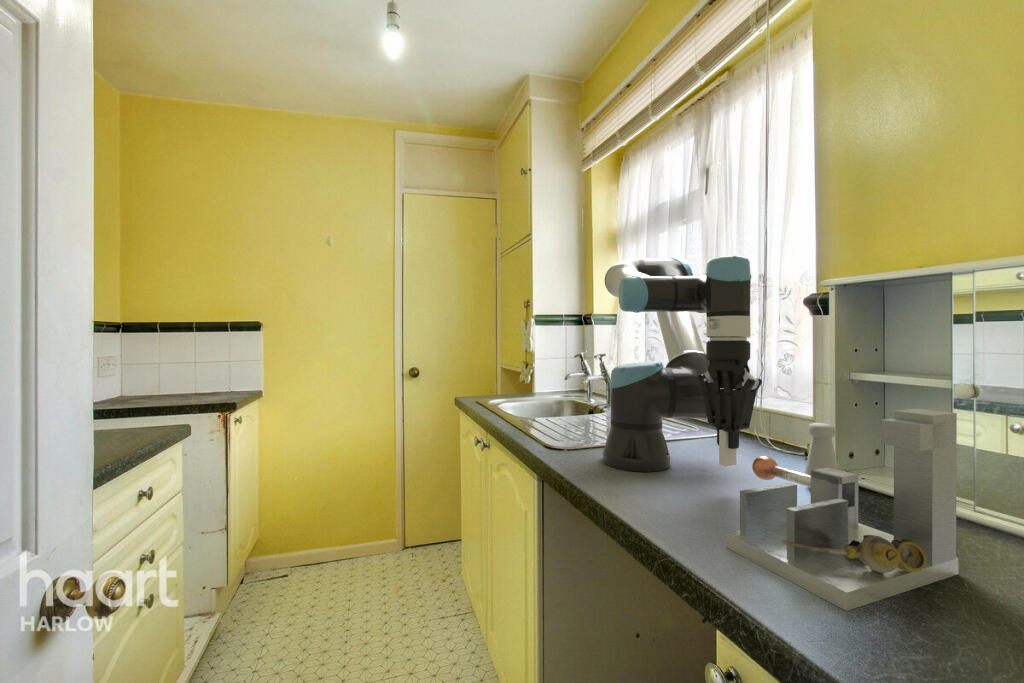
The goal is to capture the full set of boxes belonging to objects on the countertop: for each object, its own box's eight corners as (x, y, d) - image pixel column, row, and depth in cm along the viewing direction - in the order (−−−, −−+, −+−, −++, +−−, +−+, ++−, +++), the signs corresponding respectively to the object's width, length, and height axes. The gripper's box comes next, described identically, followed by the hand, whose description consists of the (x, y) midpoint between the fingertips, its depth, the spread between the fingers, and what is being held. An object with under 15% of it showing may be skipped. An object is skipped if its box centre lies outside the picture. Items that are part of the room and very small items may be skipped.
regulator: (793, 562, 52) (947, 581, 49) (789, 525, 53) (939, 541, 50) (771, 557, 59) (905, 573, 55) (768, 524, 60) (899, 539, 57)
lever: (746, 477, 79) (746, 454, 79) (763, 475, 80) (763, 452, 80) (832, 505, 65) (832, 478, 65) (850, 502, 67) (850, 475, 67)
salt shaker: (846, 497, 83) (846, 427, 83) (812, 495, 84) (812, 426, 84) (830, 487, 89) (831, 421, 89) (798, 485, 90) (798, 420, 90)
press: (725, 547, 63) (726, 404, 63) (827, 524, 71) (827, 397, 71) (846, 611, 48) (847, 424, 48) (958, 574, 56) (959, 412, 56)
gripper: (687, 339, 90) (686, 458, 90) (742, 339, 77) (741, 476, 77) (715, 339, 92) (715, 454, 92) (773, 339, 80) (773, 471, 80)
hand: (727, 464), depth 85 cm, fingers closed
